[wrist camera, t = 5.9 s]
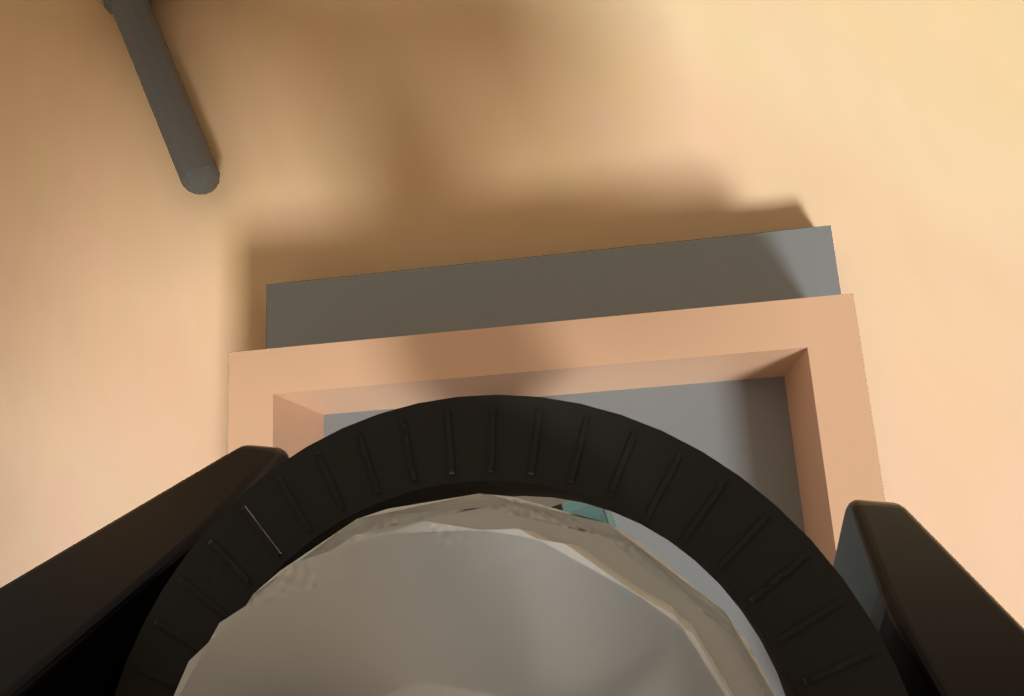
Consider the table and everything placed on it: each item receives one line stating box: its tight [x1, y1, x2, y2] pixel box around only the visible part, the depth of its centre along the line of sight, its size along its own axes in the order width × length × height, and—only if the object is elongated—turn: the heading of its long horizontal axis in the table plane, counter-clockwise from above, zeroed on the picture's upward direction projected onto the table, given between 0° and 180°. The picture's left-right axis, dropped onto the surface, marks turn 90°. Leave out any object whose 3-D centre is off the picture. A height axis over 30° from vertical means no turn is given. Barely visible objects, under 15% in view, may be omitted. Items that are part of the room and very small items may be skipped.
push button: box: [114, 395, 909, 696], centre depth 9 cm, size 7×5×10 cm
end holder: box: [228, 225, 885, 696], centre depth 19 cm, size 16×14×4 cm
